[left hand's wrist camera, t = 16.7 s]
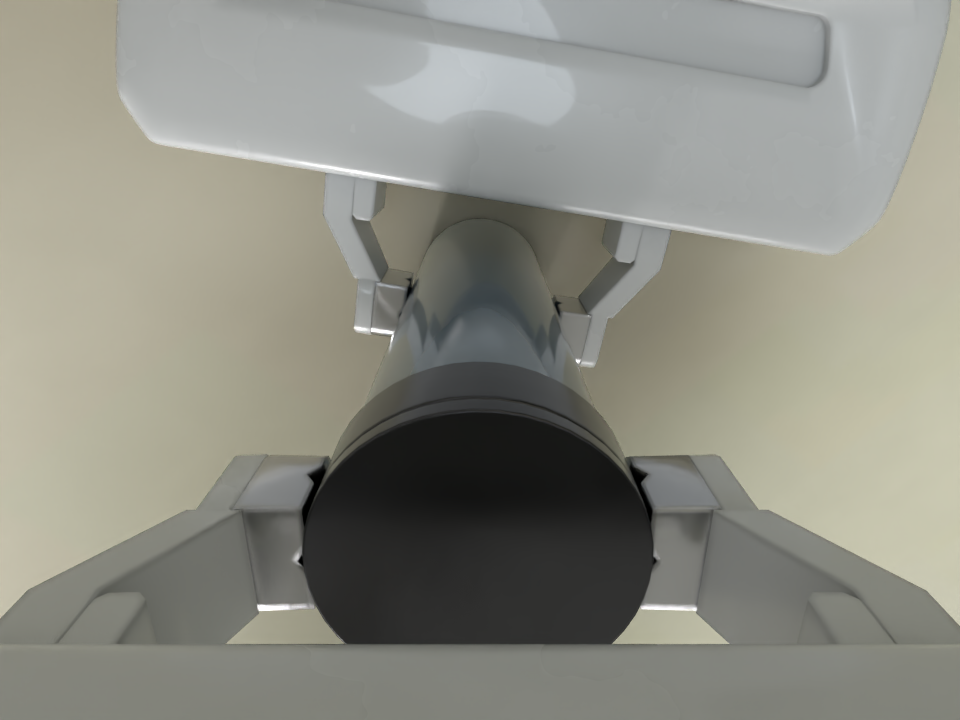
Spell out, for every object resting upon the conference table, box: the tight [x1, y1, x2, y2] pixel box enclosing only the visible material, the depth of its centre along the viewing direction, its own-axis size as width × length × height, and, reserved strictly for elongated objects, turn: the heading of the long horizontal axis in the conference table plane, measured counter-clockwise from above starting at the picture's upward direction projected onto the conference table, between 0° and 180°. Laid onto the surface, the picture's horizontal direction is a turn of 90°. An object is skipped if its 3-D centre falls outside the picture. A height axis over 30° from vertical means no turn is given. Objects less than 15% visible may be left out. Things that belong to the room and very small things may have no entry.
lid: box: [302, 362, 654, 644], centre depth 9 cm, size 5×5×2 cm
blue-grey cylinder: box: [364, 219, 595, 409], centre depth 16 cm, size 5×5×16 cm
